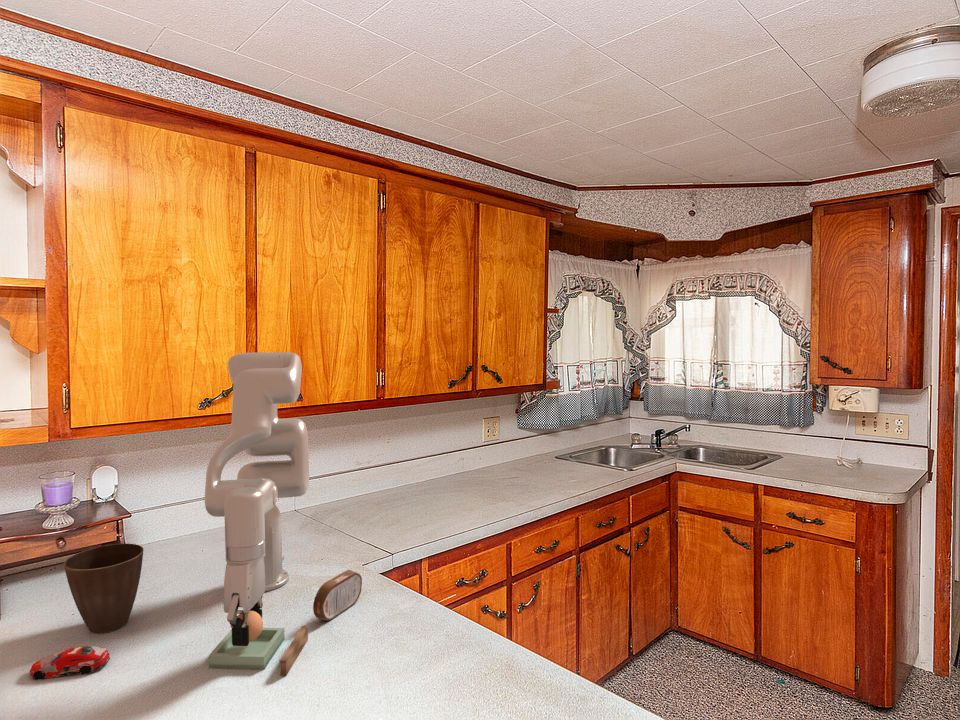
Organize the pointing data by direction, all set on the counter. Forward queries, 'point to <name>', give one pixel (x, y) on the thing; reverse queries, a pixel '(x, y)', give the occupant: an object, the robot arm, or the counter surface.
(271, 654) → the tray
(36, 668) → the race car
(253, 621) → the ball
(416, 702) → the counter surface
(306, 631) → the rail
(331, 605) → the tin
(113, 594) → the plant pot
